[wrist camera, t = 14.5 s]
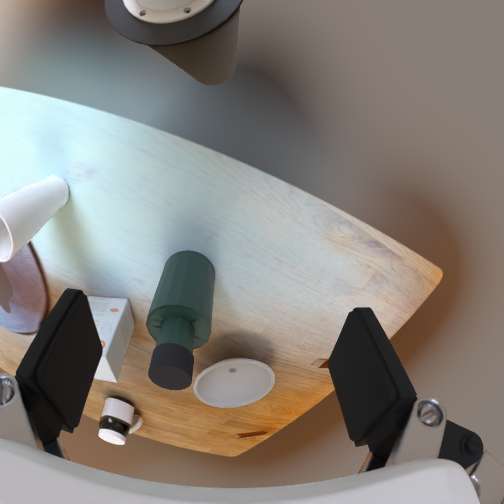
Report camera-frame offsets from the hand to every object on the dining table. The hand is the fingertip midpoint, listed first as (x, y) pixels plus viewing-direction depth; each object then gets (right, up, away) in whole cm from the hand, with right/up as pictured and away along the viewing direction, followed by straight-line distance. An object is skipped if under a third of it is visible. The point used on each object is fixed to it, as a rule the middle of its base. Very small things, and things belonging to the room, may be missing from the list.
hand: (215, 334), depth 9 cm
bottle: (-8, 0, +32) cm, 33 cm away
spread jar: (-32, -38, +51) cm, 71 cm away
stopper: (-7, -6, +22) cm, 24 cm away
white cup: (-27, +12, +24) cm, 38 cm away
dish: (-2, -20, +44) cm, 48 cm away
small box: (-23, -7, +35) cm, 43 cm away
